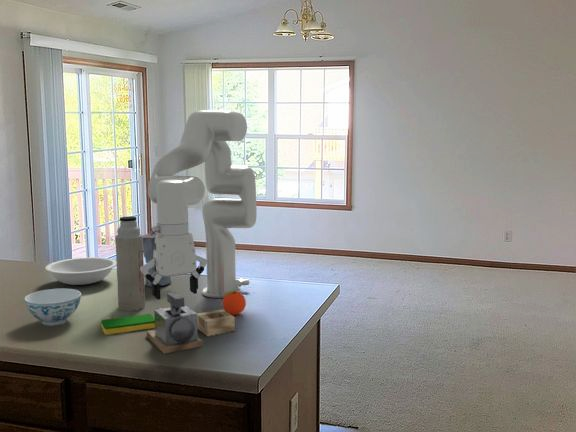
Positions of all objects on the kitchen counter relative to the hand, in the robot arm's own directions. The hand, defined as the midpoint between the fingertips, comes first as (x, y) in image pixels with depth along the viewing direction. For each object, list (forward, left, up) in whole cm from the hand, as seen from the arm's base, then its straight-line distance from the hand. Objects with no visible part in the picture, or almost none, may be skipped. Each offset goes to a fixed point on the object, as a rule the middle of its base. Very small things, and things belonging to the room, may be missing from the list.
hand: (175, 295), depth 156 cm
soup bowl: (+8, -74, -13) cm, 75 cm away
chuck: (0, -4, -11) cm, 12 cm away
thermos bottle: (+1, -37, -13) cm, 39 cm away
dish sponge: (+7, -19, -13) cm, 24 cm away
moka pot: (-15, -59, -13) cm, 62 cm away
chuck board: (0, -2, -13) cm, 13 cm away
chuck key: (0, 0, -11) cm, 11 cm away
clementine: (-23, -15, -13) cm, 30 cm away
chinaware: (+24, -34, -13) cm, 43 cm away
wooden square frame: (-13, -5, -13) cm, 18 cm away
